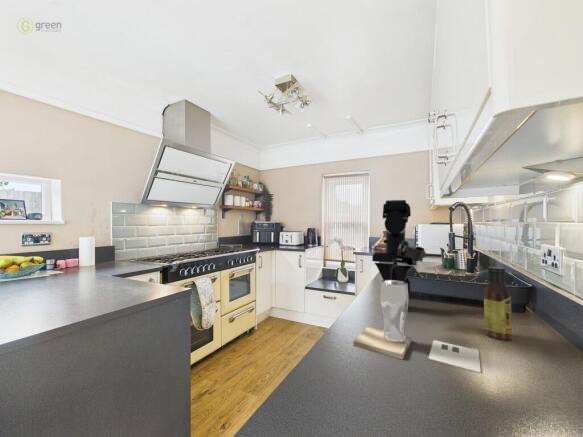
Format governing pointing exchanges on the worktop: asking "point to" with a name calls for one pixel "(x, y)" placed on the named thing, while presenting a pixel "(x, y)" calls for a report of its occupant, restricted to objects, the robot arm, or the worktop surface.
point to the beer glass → (394, 309)
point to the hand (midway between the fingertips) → (395, 287)
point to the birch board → (381, 343)
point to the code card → (455, 356)
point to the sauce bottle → (497, 305)
